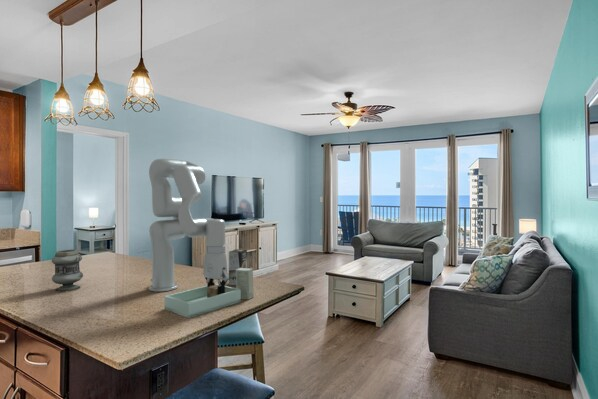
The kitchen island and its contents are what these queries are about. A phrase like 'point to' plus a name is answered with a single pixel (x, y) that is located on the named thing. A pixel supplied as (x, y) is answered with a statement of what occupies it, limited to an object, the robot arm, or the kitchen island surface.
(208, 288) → the tan cube
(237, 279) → the skincare box
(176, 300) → the tote
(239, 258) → the coffee box
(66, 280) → the apothecary jar
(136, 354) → the kitchen island surface
